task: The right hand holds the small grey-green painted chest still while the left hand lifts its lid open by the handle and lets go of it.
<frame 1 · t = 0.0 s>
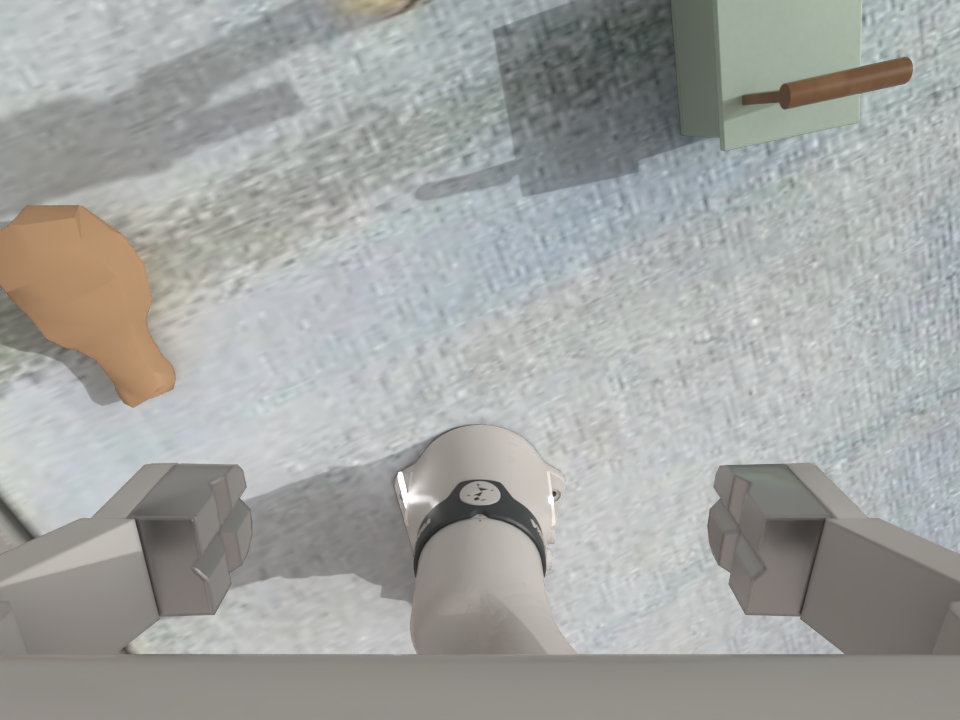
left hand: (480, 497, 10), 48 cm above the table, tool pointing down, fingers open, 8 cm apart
lid: (814, 23, 38), point 13 cm above the table, hinge at 0.0°
chest: (732, 42, 50), on the table
squash: (122, 297, 59), on the table
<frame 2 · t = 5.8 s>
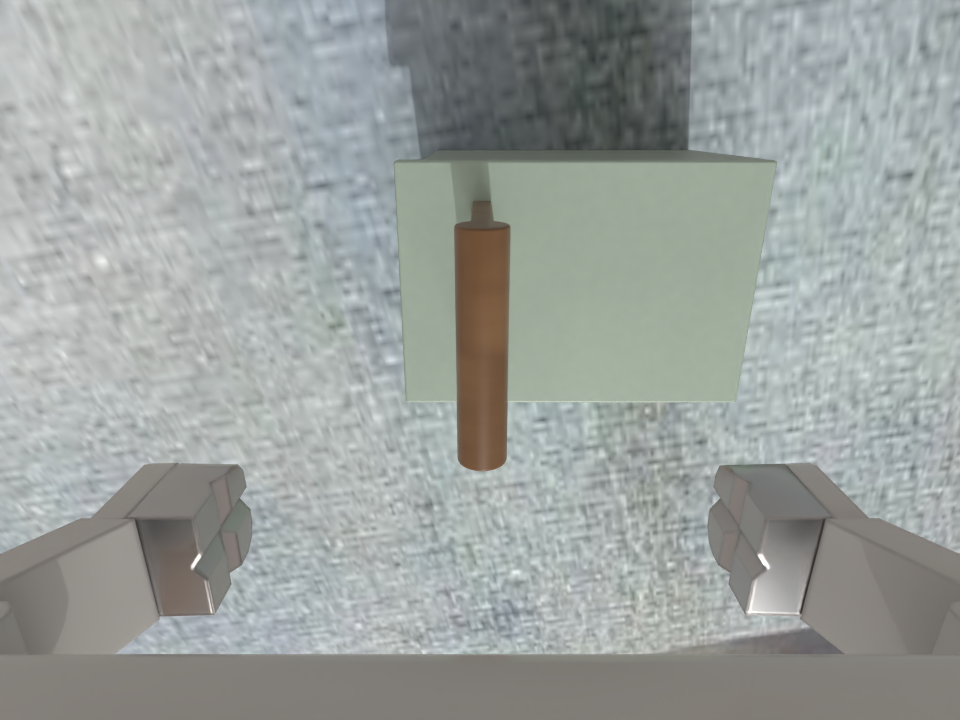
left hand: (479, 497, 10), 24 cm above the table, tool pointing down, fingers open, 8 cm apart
lid: (592, 315, 20), point 13 cm above the table, hinge at 0.0°
chest: (558, 243, 33), on the table
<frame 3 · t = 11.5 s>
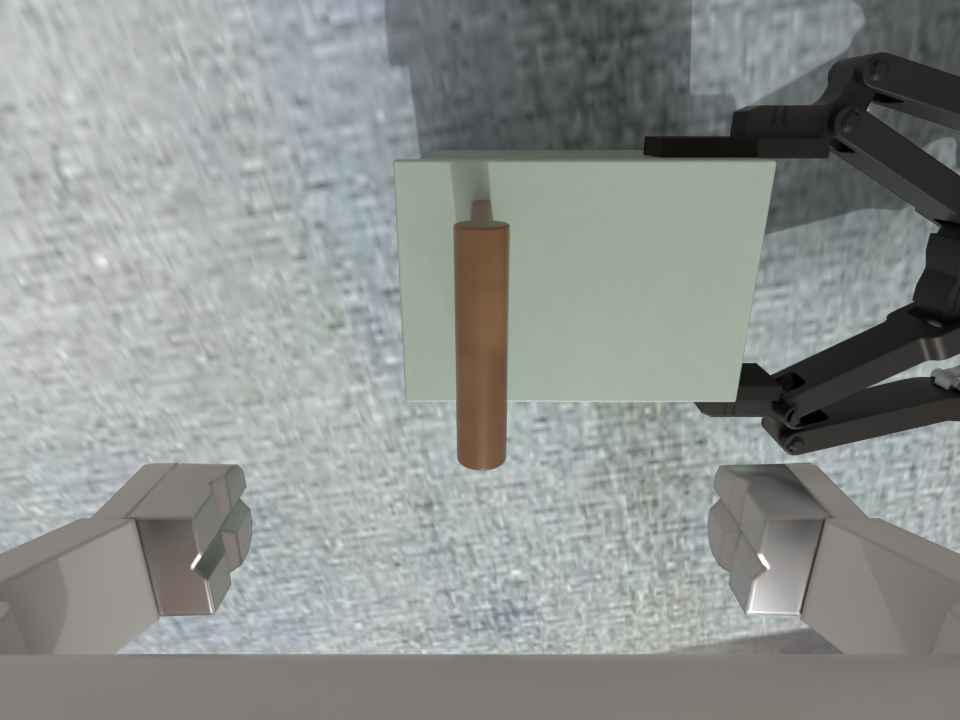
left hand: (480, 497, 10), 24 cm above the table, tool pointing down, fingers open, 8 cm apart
right hand: (640, 272, 26), fingers closed on chest, 10 cm apart
lid: (591, 315, 20), point 13 cm above the table, hinge at 0.0°
chest: (558, 243, 33), on the table, touching right hand
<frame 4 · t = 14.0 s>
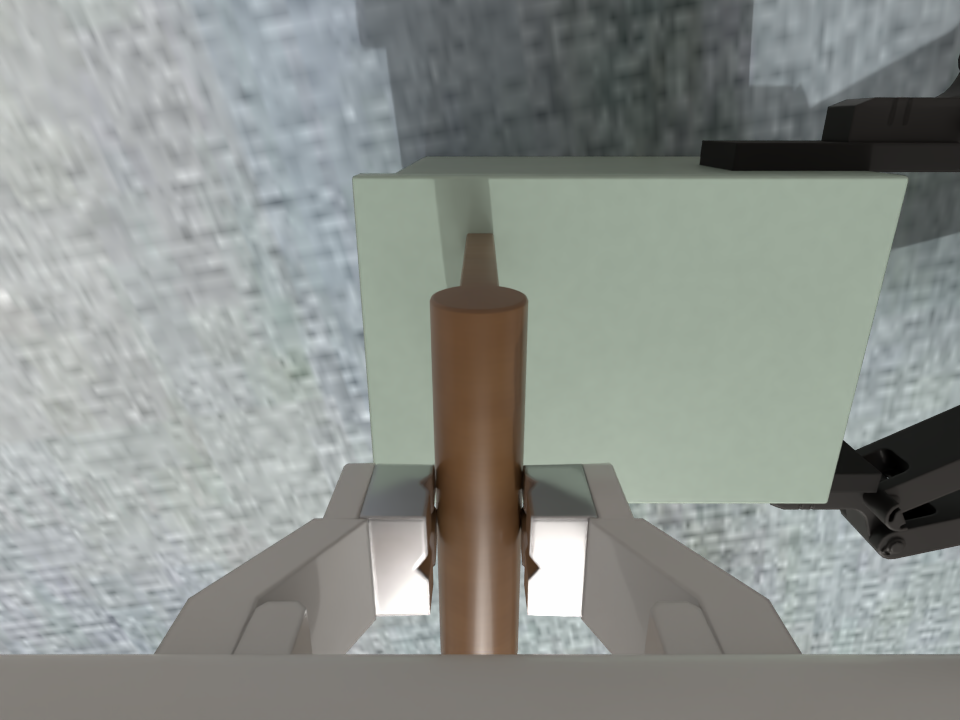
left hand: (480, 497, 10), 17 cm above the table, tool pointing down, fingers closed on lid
right hand: (693, 324, 20), fingers closed on chest, 10 cm apart
lid: (644, 409, 14), point 13 cm above the table, hinge at -0.1°, touching left hand
chest: (577, 274, 26), on the table, touching right hand
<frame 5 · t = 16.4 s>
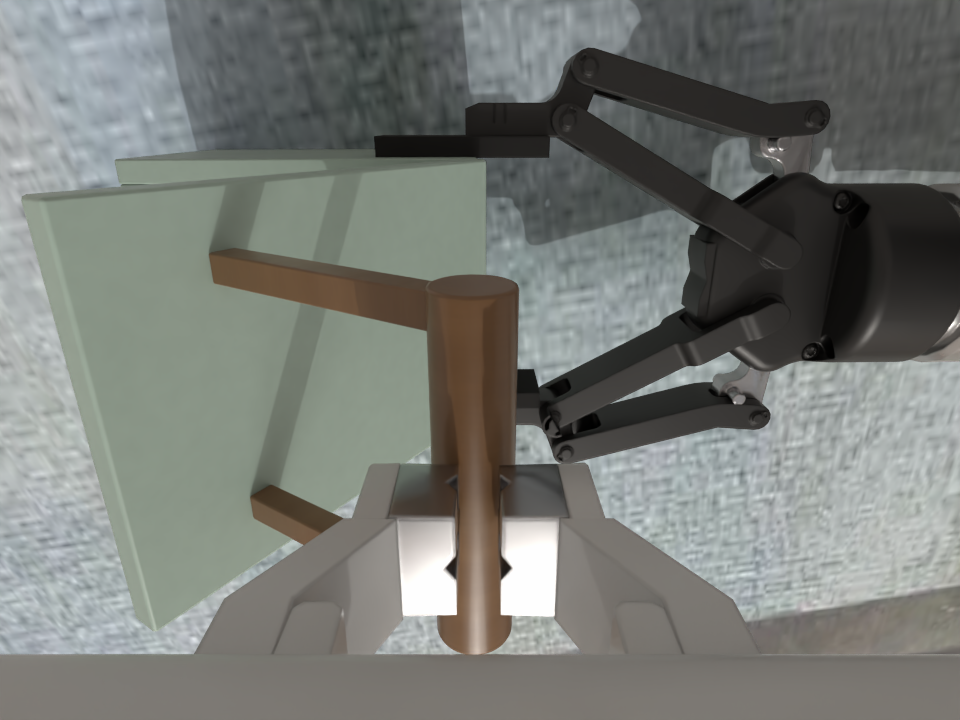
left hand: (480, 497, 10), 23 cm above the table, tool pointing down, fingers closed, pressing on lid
right hand: (387, 276, 25), fingers closed on chest, 10 cm apart
lid: (447, 371, 16), point 17 cm above the table, hinge at 55.5°, touching left hand
chest: (353, 245, 32), on the table, touching right hand
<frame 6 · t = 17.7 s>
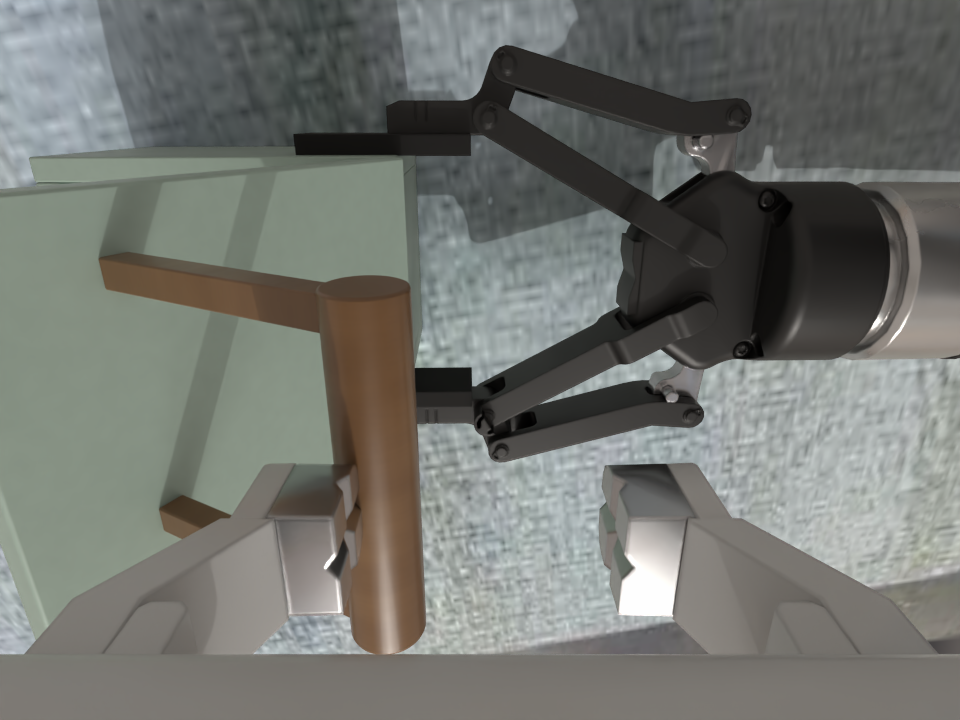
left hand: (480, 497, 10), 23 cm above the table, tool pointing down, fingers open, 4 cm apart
right hand: (317, 275, 25), fingers closed on chest, 10 cm apart
lid: (362, 371, 16), point 18 cm above the table, hinge at 60.3°, touching left hand
chest: (295, 243, 32), on the table, touching right hand
when the right hand's fingers open (7 cm above the table, at t = 21.6 s): chest stays where it is, on the table.
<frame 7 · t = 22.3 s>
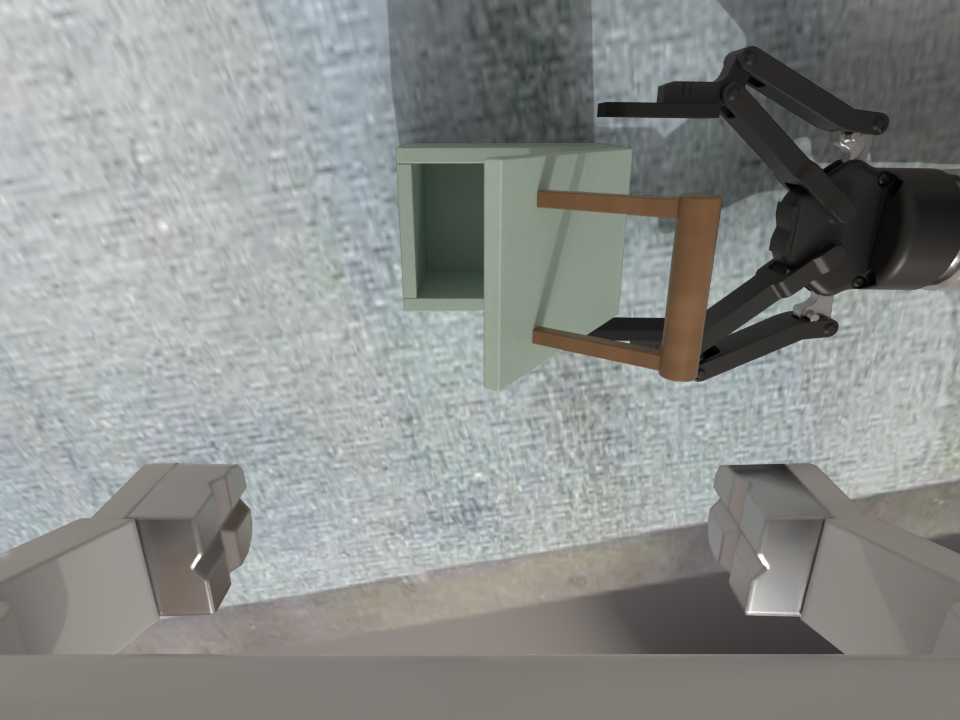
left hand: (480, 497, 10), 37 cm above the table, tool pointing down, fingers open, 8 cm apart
right hand: (591, 226, 38), fingers open, 13 cm apart
lid: (638, 263, 28), point 18 cm above the table, hinge at 56.3°
chest: (503, 212, 44), on the table
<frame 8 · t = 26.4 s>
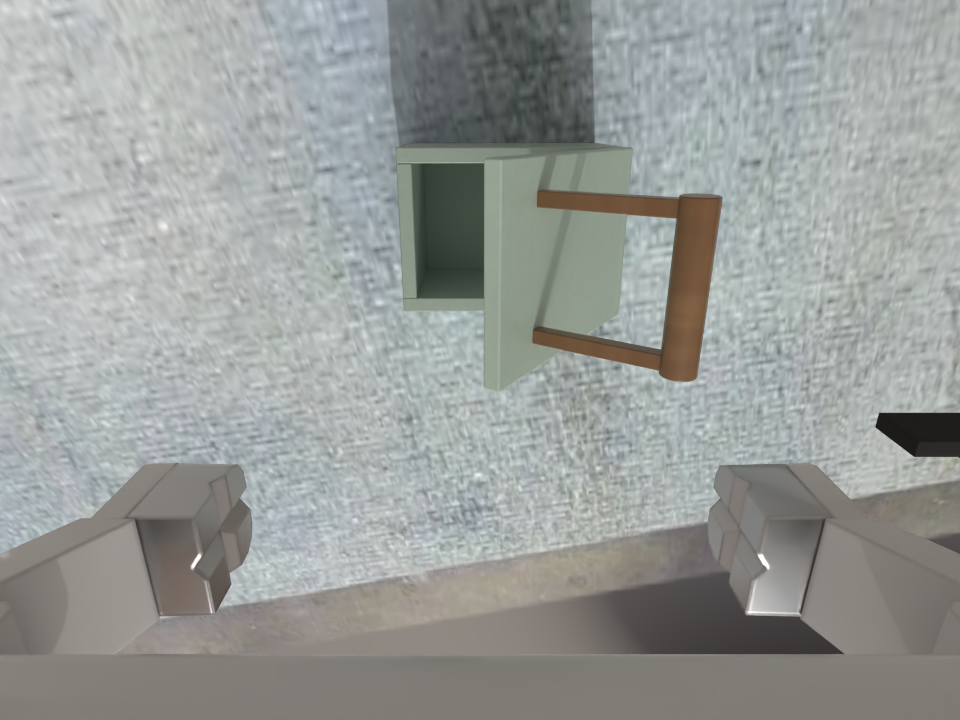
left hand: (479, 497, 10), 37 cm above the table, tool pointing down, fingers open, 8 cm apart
lid: (638, 263, 28), point 18 cm above the table, hinge at 56.3°
chest: (503, 212, 44), on the table
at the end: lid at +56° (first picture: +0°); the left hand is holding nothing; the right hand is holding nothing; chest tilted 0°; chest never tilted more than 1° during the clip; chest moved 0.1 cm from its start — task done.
